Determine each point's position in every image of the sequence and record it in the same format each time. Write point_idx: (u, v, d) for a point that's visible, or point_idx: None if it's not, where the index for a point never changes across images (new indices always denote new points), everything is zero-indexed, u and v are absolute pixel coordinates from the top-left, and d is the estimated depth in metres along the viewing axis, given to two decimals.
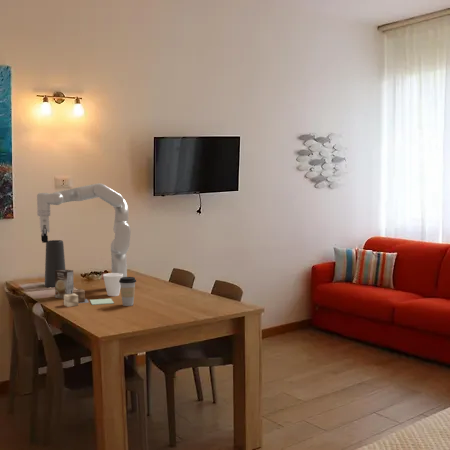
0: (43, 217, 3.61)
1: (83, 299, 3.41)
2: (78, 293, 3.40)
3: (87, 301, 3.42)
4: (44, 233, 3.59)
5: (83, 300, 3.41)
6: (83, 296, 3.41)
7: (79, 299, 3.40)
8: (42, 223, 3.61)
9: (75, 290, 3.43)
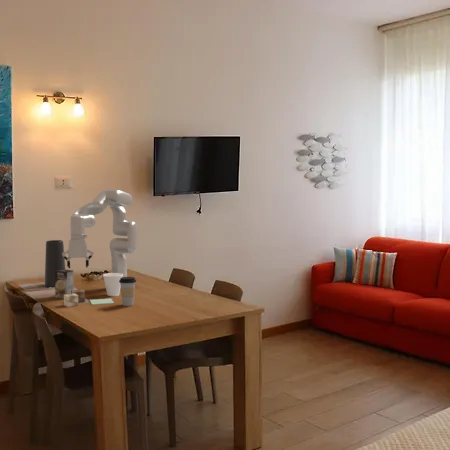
0: (85, 240, 3.41)
1: (83, 299, 3.41)
2: (78, 293, 3.40)
3: (87, 301, 3.42)
4: None
5: (83, 300, 3.41)
6: (83, 296, 3.41)
7: (79, 299, 3.40)
8: (86, 247, 3.41)
9: (75, 290, 3.43)
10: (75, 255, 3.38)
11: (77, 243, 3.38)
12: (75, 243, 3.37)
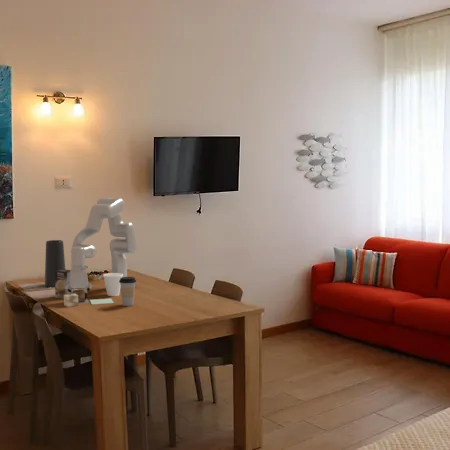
0: (86, 271, 3.42)
1: (83, 299, 3.41)
2: (78, 293, 3.40)
3: (87, 301, 3.42)
4: (89, 289, 3.44)
5: (83, 300, 3.41)
6: (83, 296, 3.41)
7: (79, 299, 3.40)
8: (87, 278, 3.42)
9: (75, 290, 3.43)
10: (76, 286, 3.40)
11: (78, 275, 3.39)
12: (76, 274, 3.39)
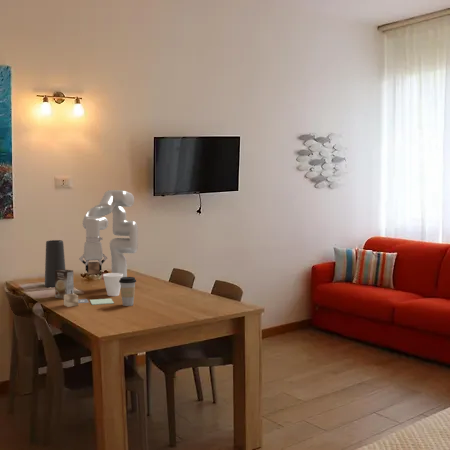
0: None
1: (98, 271, 3.38)
2: (93, 265, 3.37)
3: (87, 301, 3.42)
4: None
5: (98, 272, 3.38)
6: (98, 268, 3.38)
7: (94, 271, 3.37)
8: None
9: (90, 262, 3.41)
10: (90, 258, 3.37)
11: (93, 246, 3.37)
12: (90, 246, 3.36)
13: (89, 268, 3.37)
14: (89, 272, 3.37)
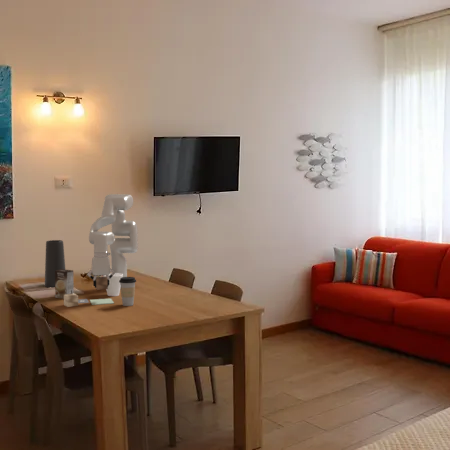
0: None
1: (106, 286, 3.38)
2: (101, 280, 3.37)
3: (87, 301, 3.42)
4: (111, 276, 3.41)
5: (106, 287, 3.38)
6: (106, 283, 3.38)
7: (102, 286, 3.37)
8: None
9: (97, 277, 3.41)
10: (98, 273, 3.37)
11: (101, 261, 3.37)
12: (99, 261, 3.36)
13: (97, 283, 3.36)
14: (97, 287, 3.37)
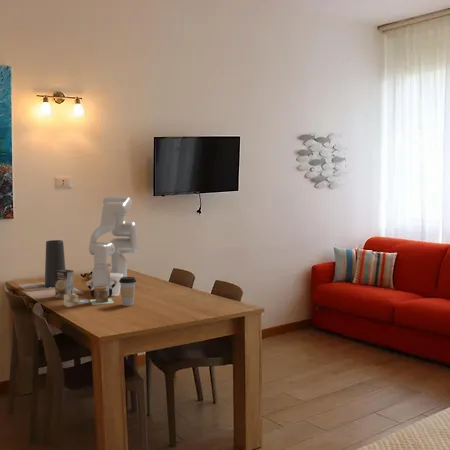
0: None
1: (106, 299, 3.39)
2: (101, 293, 3.38)
3: (87, 301, 3.42)
4: (114, 285, 3.42)
5: (106, 300, 3.39)
6: (106, 296, 3.39)
7: (102, 299, 3.38)
8: None
9: (98, 290, 3.42)
10: (99, 284, 3.38)
11: (101, 273, 3.37)
12: (99, 272, 3.37)
13: (98, 296, 3.37)
14: (98, 300, 3.38)
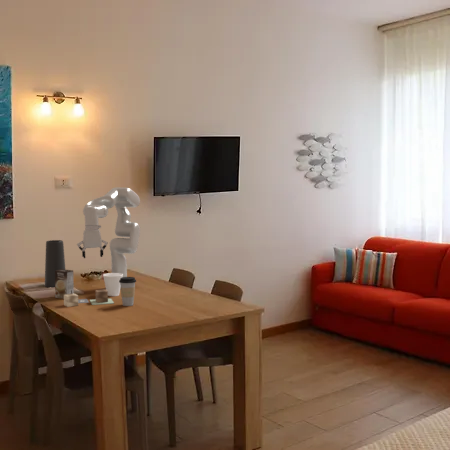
0: None
1: (106, 299, 3.39)
2: (101, 293, 3.38)
3: (87, 301, 3.42)
4: (105, 246, 3.51)
5: (106, 300, 3.39)
6: (106, 296, 3.39)
7: (102, 299, 3.38)
8: None
9: (98, 290, 3.42)
10: (90, 245, 3.46)
11: (92, 234, 3.45)
12: (90, 234, 3.45)
13: (98, 296, 3.37)
14: (98, 300, 3.38)
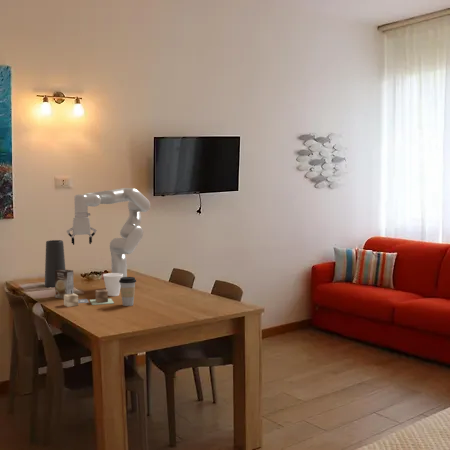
0: None
1: (106, 299, 3.39)
2: (101, 293, 3.38)
3: (87, 301, 3.42)
4: (94, 234, 3.62)
5: (106, 300, 3.39)
6: (106, 296, 3.39)
7: (102, 299, 3.38)
8: None
9: (98, 290, 3.42)
10: (79, 232, 3.57)
11: (81, 221, 3.57)
12: (79, 221, 3.57)
13: (98, 296, 3.37)
14: (98, 300, 3.38)
